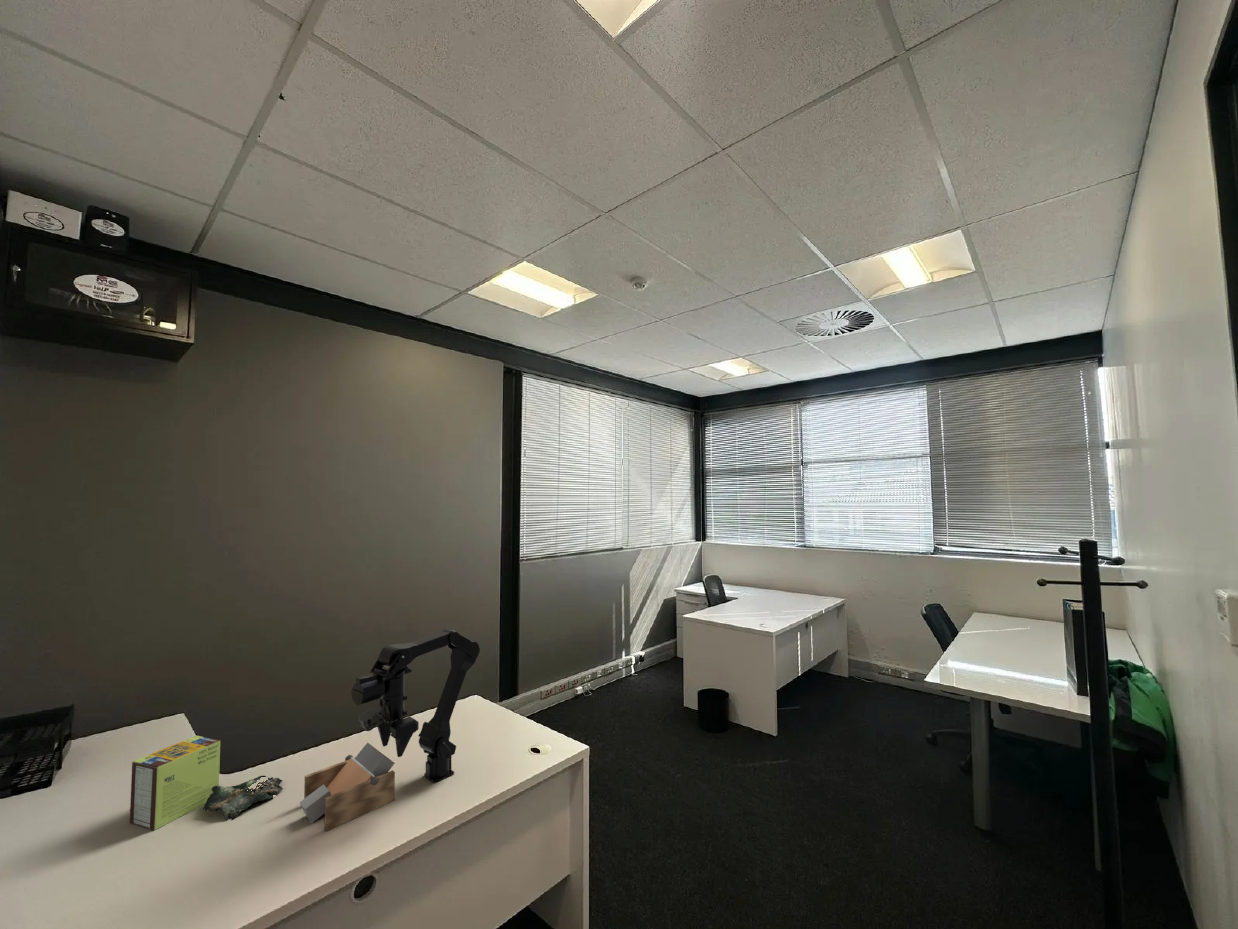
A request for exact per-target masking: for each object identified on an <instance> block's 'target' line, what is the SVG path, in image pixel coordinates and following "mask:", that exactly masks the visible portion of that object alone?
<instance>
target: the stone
mask: <svg viewBox="0 0 1238 929" xmlns="http://www.w3.org/2000/svg"><path fill="white" fill-rule="evenodd" d="M329 796H331V793H330V791H329V790H328V789H327V788H326V787H325V786H324V785H322V786H321V787H319V788H318V789H317V790H315V791H314V792H313V793H311V794H310V795H309V796H307V797H306V798H305V799H304V798H303V799H301V801H299V804H300V807H301V809H302V811H303V813H304V815H305V817H306V818H307V819H308V820H309V822H310V824H313V823H314V822H315V821H317V820H318V819H319V818H321V817H322V816H323V815H325V798H327V797H329Z"/></svg>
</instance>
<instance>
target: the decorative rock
mask: <svg viewBox="0 0 1238 929" xmlns="http://www.w3.org/2000/svg"><path fill="white" fill-rule="evenodd" d="M261 777H267V776H266V775H259V776H257V777H255V778H252V779H250V780H248V781H244V782H242V783H240V784H236V785H231V786H224V785H219V786H214V787H212V791H213V793H212V794H210V797H208V799H207V801H206V804H204V805H203V807H202V810H204V811H206V812H213V813H215V812H217V811H219V813H221V814H222V815H223V816H224V818H225V819H226V820H231V821H234V820H235V819H236V818H237V817H238V815H239V814H240V813H241V812H242V811H245V810H248V808H249V807H250V806H251V805H253V803H254V804H256V803H257V802H260V801H262V802H263V801H266V800H271V798H272V799H273V795H276V794H277V795H278V794H279V793H280V792H281V791H282V790H283V789H284V788H283V787H282V786H281V783H282V782H283V781H284V780H283V779H280V778H279V777H273V776H272V777H268V780H266V781H265V782H264V781H263V782H259V783H258V784H262V785H261V786H260V785H258V784H257V786H256V788H255V789H253V788H251V789H249V788H248V787H250V786H251V785H252V784H254V783H256V782H257V780H260V778H261ZM259 786H260V787H259ZM257 787H259V788H258V789H257ZM247 790H248V791H247ZM251 790H252V791H251Z"/></svg>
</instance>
